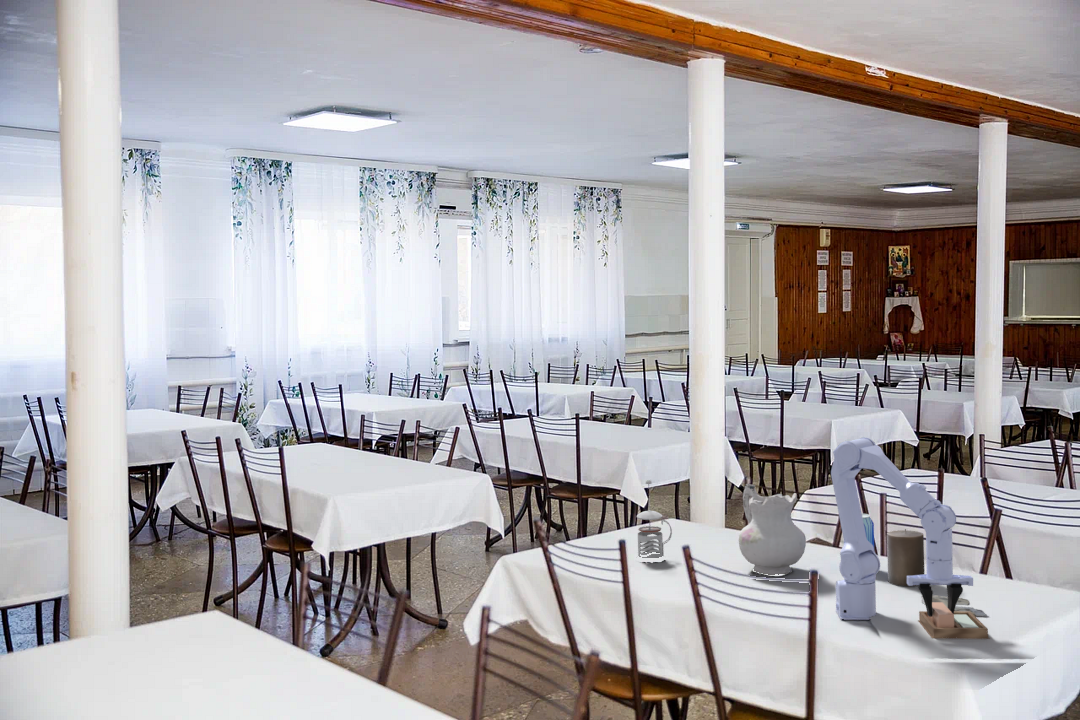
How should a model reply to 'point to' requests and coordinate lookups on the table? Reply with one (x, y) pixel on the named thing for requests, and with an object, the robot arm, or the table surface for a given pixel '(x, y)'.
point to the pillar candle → (904, 555)
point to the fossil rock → (960, 602)
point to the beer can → (868, 528)
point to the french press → (649, 530)
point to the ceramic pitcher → (770, 533)
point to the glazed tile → (964, 621)
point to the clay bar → (941, 616)
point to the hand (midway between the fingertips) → (940, 615)
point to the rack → (957, 630)
